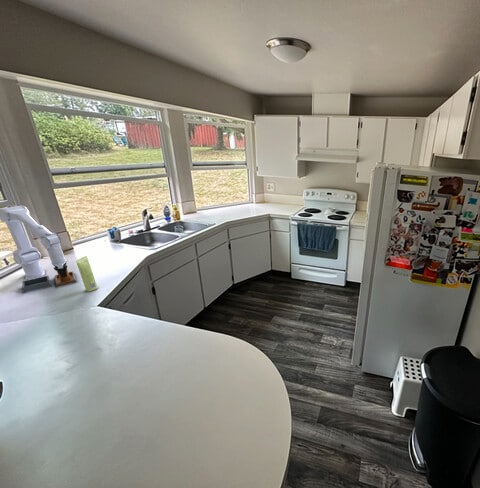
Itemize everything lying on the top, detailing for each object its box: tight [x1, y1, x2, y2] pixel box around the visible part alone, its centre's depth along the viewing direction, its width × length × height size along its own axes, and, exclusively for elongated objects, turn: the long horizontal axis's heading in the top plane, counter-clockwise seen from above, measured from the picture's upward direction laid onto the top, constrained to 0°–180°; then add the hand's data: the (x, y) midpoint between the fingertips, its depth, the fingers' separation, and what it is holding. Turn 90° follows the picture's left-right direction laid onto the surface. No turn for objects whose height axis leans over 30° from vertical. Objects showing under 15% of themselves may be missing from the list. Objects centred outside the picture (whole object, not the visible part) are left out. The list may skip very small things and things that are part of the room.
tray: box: [54, 271, 77, 287], centre depth 151 cm, size 15×8×2 cm, turn 47°
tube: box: [75, 255, 98, 292], centre depth 140 cm, size 6×5×20 cm
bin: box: [21, 275, 52, 293], centre depth 144 cm, size 10×10×3 cm
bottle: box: [56, 265, 71, 281], centre depth 150 cm, size 4×4×10 cm
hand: (64, 275), depth 150 cm, fingers closed on bottle, 4 cm apart
